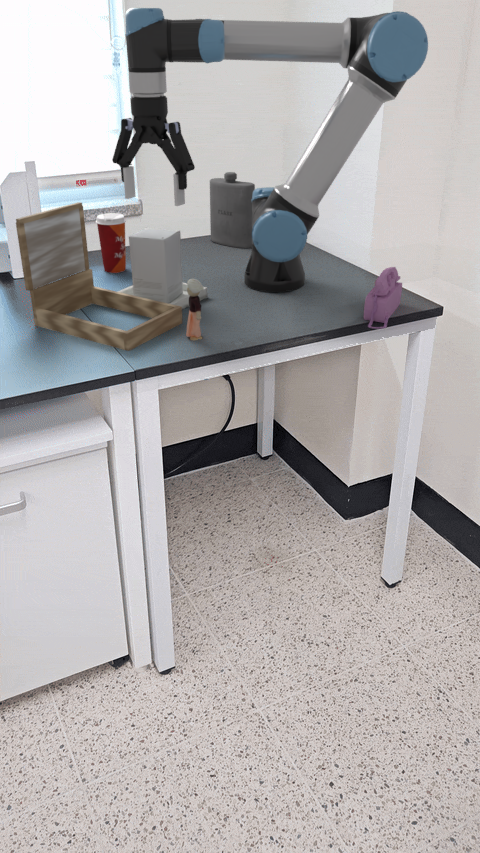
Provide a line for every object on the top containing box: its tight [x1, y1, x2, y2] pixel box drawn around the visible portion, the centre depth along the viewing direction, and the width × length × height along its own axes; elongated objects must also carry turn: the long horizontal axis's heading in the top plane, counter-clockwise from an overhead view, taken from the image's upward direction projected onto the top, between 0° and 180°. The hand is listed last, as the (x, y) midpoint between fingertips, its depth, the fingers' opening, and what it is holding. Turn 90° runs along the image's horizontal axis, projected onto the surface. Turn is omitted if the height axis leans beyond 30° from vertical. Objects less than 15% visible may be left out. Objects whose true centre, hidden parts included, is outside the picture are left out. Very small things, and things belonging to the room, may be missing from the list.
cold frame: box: [15, 201, 183, 352], centre depth 150 cm, size 27×18×23 cm
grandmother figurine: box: [185, 278, 204, 341], centre depth 146 cm, size 8×4×13 cm, turn 24°
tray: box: [117, 282, 209, 311], centre depth 168 cm, size 16×16×2 cm
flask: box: [209, 171, 256, 249], centre depth 207 cm, size 15×6×20 cm, turn 52°
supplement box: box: [128, 226, 184, 304], centre depth 165 cm, size 9×9×15 cm
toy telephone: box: [363, 266, 403, 330], centre depth 158 cm, size 18×6×10 cm, turn 155°
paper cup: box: [95, 212, 127, 274], centre depth 186 cm, size 8×8×14 cm
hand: (154, 201), depth 158 cm, fingers open, 13 cm apart
